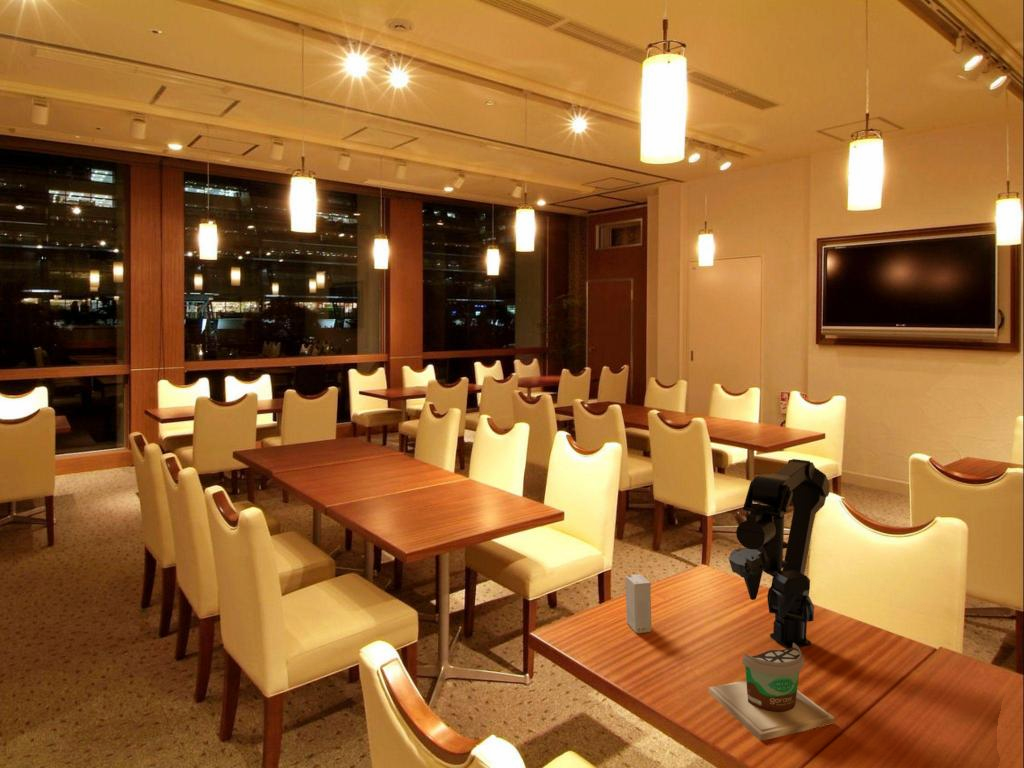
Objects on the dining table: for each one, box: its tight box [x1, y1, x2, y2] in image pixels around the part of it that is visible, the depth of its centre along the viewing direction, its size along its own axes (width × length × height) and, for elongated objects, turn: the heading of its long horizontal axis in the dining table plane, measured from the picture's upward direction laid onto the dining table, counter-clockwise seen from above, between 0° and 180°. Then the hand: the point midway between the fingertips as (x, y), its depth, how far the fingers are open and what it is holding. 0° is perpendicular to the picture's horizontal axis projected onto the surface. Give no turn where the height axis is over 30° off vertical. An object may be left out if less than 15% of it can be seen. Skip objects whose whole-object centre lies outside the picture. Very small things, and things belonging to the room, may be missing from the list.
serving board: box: [708, 679, 836, 742], centre depth 128 cm, size 16×16×2 cm
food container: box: [741, 643, 805, 712], centre depth 126 cm, size 12×6×10 cm, turn 108°
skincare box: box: [625, 573, 652, 634], centre depth 161 cm, size 6×4×12 cm
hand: (766, 608), depth 142 cm, fingers open, 9 cm apart
